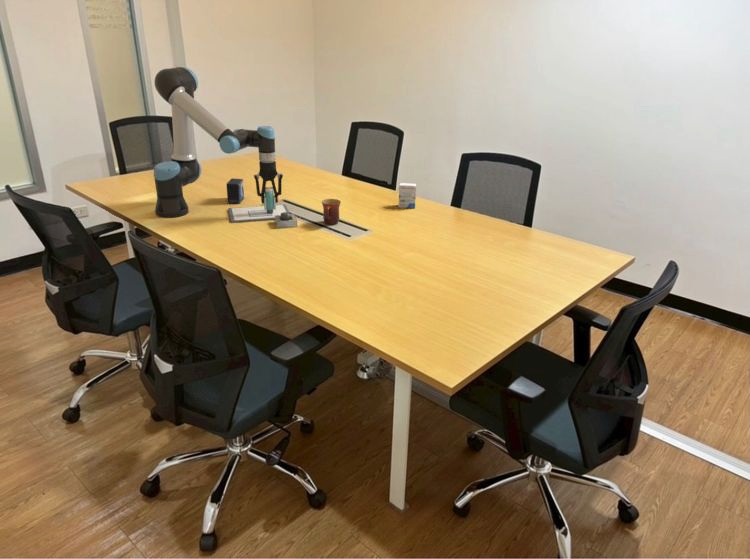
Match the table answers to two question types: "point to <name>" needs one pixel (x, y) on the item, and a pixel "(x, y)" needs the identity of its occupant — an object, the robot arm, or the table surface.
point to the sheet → (254, 213)
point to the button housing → (285, 222)
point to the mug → (331, 211)
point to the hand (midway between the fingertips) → (270, 209)
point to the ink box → (407, 195)
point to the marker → (269, 199)
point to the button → (285, 216)
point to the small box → (235, 191)
